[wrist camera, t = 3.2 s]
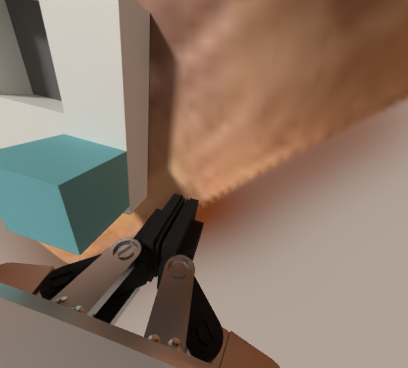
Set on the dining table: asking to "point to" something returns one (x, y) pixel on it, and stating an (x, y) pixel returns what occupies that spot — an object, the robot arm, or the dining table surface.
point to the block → (62, 190)
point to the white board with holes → (78, 77)
